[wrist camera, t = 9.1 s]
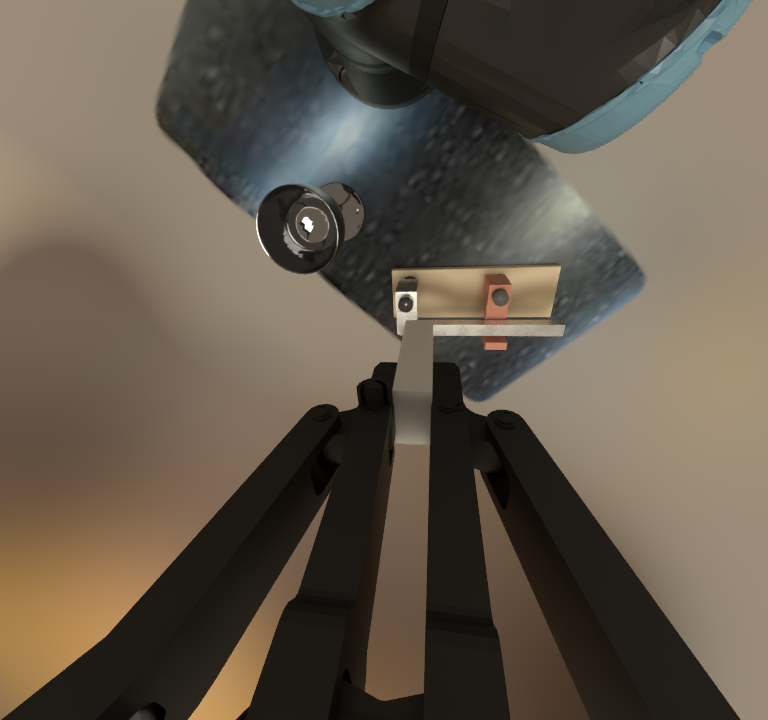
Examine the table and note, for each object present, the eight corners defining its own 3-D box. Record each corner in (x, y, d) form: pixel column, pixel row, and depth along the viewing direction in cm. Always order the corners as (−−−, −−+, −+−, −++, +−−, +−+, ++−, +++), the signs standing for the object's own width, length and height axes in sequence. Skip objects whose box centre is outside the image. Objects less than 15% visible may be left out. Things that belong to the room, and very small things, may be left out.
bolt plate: (392, 268, 46) (391, 270, 44) (558, 264, 42) (561, 266, 41) (394, 314, 49) (394, 317, 48) (547, 313, 46) (550, 316, 45)
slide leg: (484, 274, 43) (491, 289, 37) (504, 273, 42) (515, 289, 37) (479, 328, 47) (485, 349, 41) (497, 328, 46) (506, 349, 41)
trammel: (400, 275, 45) (394, 295, 38) (555, 271, 42) (580, 292, 35) (401, 315, 48) (396, 341, 41) (546, 315, 45) (567, 342, 38)
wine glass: (297, 212, 43) (240, 230, 31) (335, 164, 40) (288, 162, 27) (340, 256, 46) (303, 290, 33) (379, 214, 42) (355, 234, 29)
